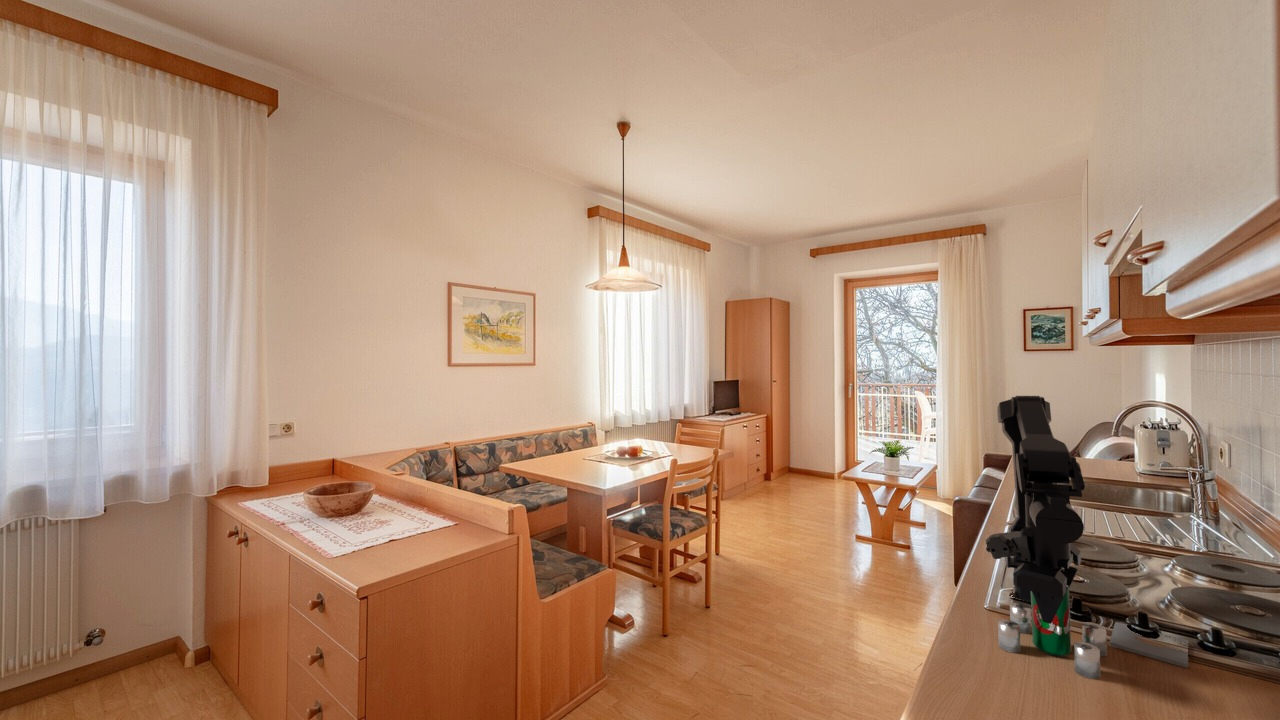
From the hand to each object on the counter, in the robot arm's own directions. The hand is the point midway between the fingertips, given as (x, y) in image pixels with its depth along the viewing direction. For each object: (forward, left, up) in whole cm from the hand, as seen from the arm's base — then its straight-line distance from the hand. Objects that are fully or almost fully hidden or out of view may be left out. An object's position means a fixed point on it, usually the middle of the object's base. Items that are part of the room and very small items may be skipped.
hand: (1050, 616), depth 86 cm
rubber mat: (-12, +11, -6) cm, 17 cm away
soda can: (0, 0, -6) cm, 6 cm away
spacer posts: (0, 0, -6) cm, 6 cm away
